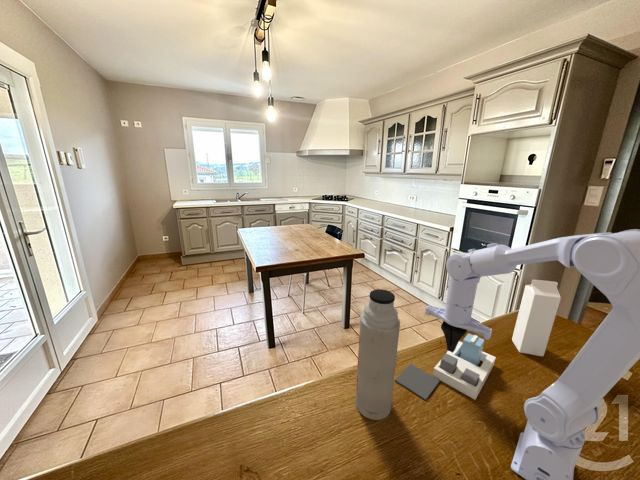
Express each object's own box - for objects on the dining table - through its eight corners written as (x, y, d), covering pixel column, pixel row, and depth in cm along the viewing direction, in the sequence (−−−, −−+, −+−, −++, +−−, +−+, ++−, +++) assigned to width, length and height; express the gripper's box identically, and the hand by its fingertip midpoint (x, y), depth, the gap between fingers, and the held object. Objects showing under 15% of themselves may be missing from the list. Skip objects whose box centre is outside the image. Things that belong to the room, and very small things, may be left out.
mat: (425, 400, 61) (425, 399, 61) (394, 380, 67) (395, 379, 67) (439, 381, 67) (439, 380, 66) (410, 364, 72) (410, 363, 72)
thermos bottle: (349, 409, 59) (355, 297, 51) (363, 384, 66) (369, 281, 58) (384, 427, 55) (396, 308, 47) (395, 398, 62) (407, 290, 54)
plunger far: (451, 375, 66) (453, 365, 65) (439, 369, 68) (441, 358, 67) (456, 369, 68) (457, 359, 67) (444, 363, 70) (445, 353, 69)
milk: (511, 340, 82) (527, 274, 76) (534, 343, 81) (552, 277, 75) (519, 352, 77) (537, 283, 71) (544, 357, 75) (564, 286, 69)
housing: (475, 400, 61) (477, 391, 61) (432, 376, 68) (434, 368, 68) (493, 364, 72) (495, 357, 71) (455, 347, 79) (456, 339, 78)
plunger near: (473, 392, 63) (475, 381, 62) (460, 385, 65) (462, 374, 64) (477, 385, 65) (479, 374, 64) (464, 378, 67) (466, 368, 66)
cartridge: (474, 370, 70) (480, 345, 68) (458, 362, 73) (463, 338, 71) (479, 362, 73) (484, 338, 71) (464, 355, 76) (468, 331, 73)
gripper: (499, 306, 60) (488, 356, 64) (436, 286, 70) (429, 329, 74) (491, 319, 55) (479, 371, 59) (424, 294, 65) (418, 341, 69)
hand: (451, 349), depth 66 cm, fingers closed
